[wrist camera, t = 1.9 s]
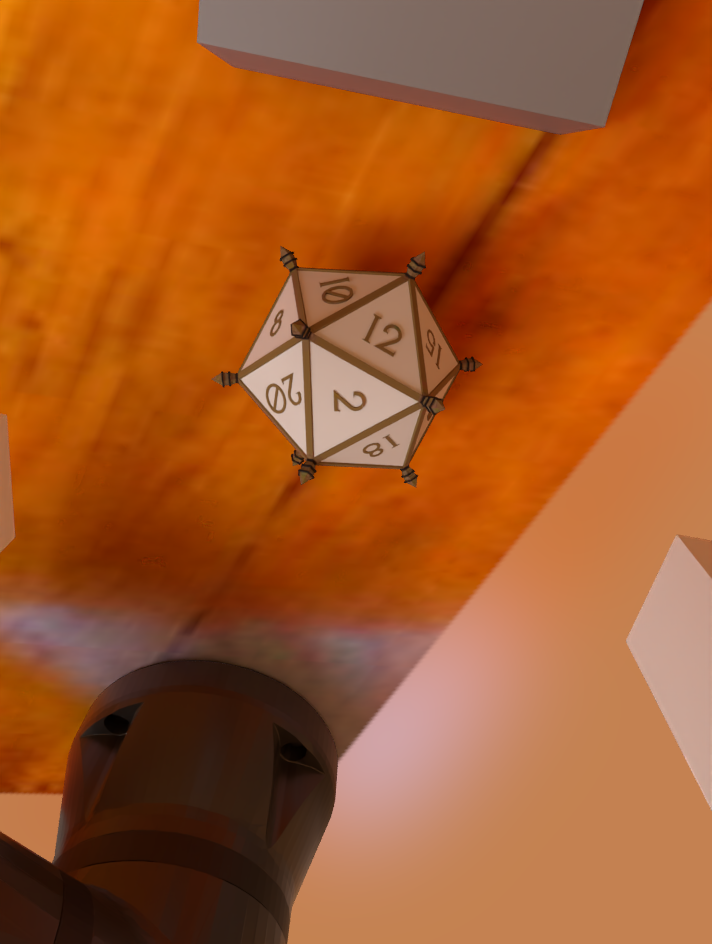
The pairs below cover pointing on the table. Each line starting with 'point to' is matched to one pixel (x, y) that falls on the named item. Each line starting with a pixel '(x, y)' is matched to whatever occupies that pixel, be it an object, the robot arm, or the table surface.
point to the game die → (350, 367)
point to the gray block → (440, 52)
